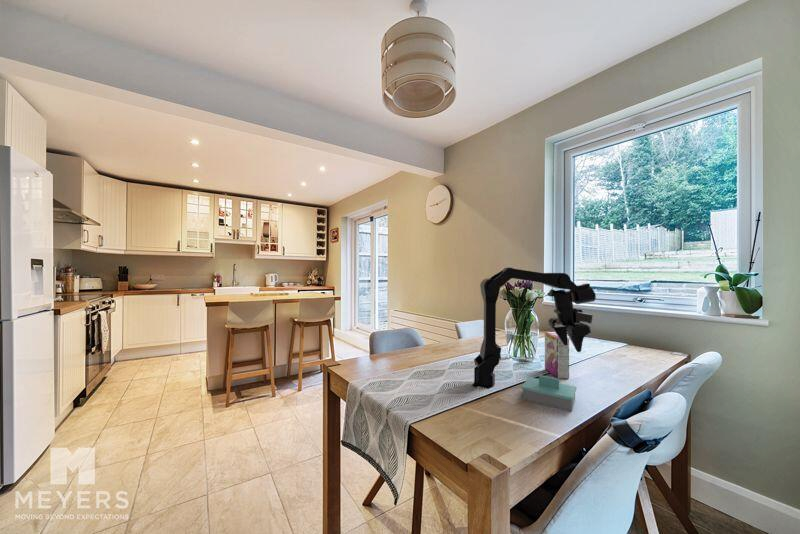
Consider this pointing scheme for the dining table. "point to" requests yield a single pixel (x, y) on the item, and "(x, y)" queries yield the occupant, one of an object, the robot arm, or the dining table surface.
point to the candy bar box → (556, 356)
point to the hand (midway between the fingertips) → (572, 348)
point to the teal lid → (550, 387)
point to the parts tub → (548, 400)
